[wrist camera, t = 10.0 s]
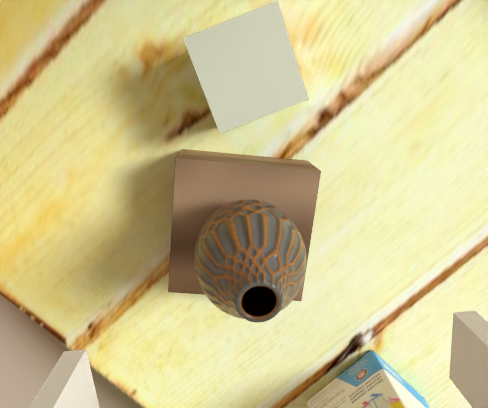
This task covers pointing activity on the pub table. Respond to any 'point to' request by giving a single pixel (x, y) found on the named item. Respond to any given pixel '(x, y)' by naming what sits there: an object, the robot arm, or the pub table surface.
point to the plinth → (229, 190)
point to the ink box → (368, 388)
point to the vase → (250, 259)
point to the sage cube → (247, 67)
